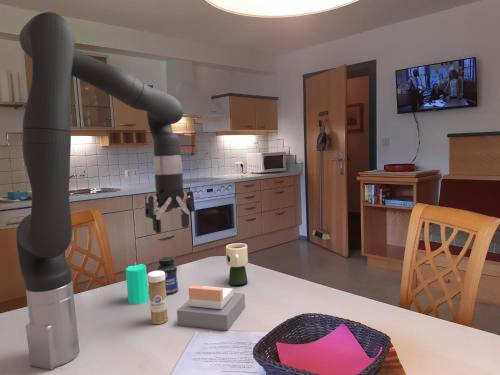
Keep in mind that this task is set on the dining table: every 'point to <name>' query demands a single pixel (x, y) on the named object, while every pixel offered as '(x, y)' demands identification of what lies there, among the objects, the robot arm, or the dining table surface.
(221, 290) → the panel
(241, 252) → the character mug
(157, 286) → the sprinkles bottle
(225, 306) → the socket block
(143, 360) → the dining table surface
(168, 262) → the pill bottle
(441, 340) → the dining table surface
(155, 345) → the dining table surface
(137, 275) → the candle
